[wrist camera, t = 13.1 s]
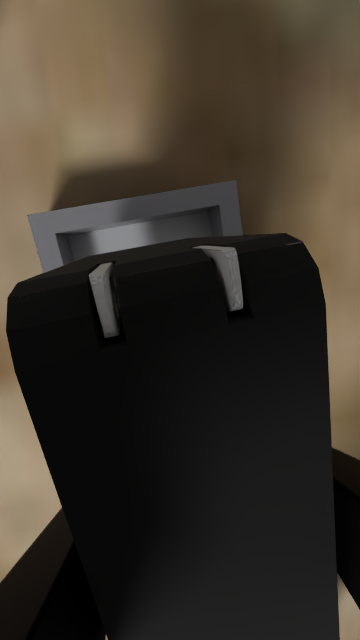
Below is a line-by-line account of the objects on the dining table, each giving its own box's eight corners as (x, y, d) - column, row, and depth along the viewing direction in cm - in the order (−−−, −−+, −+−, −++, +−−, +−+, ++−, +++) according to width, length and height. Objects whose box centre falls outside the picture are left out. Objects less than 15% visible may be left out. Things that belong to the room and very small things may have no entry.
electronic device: (138, 453, 16) (153, 785, 6) (89, 255, 13) (-23, 296, 3) (217, 433, 16) (346, 712, 7) (186, 237, 13) (329, 230, 4)
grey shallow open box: (249, 405, 21) (266, 429, 18) (105, 438, 20) (99, 469, 18) (220, 190, 18) (236, 179, 15) (46, 220, 17) (27, 214, 14)
